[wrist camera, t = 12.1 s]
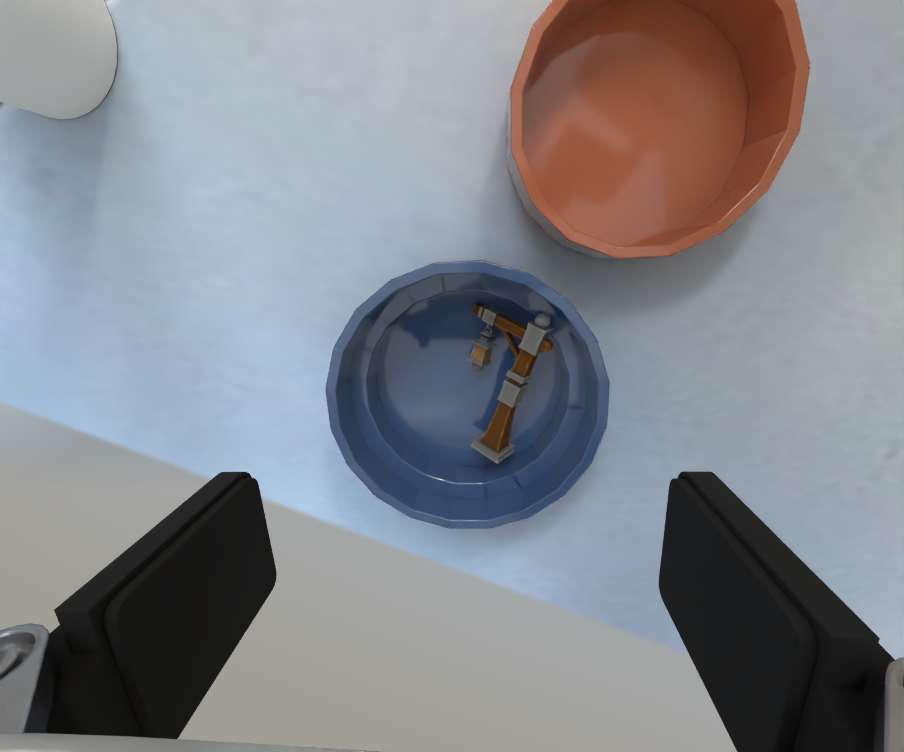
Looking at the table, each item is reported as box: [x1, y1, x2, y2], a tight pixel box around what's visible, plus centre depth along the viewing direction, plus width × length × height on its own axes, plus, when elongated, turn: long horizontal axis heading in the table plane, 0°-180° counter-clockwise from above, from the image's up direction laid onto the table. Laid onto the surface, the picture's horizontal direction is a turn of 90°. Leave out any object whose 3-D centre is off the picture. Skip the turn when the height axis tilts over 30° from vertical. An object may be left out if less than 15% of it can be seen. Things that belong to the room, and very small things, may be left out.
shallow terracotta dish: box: [506, 0, 810, 259], centre depth 18 cm, size 11×11×3 cm
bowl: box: [326, 260, 610, 529], centre depth 21 cm, size 13×13×4 cm
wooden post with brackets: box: [468, 303, 553, 463], centre depth 22 cm, size 2×8×4 cm
